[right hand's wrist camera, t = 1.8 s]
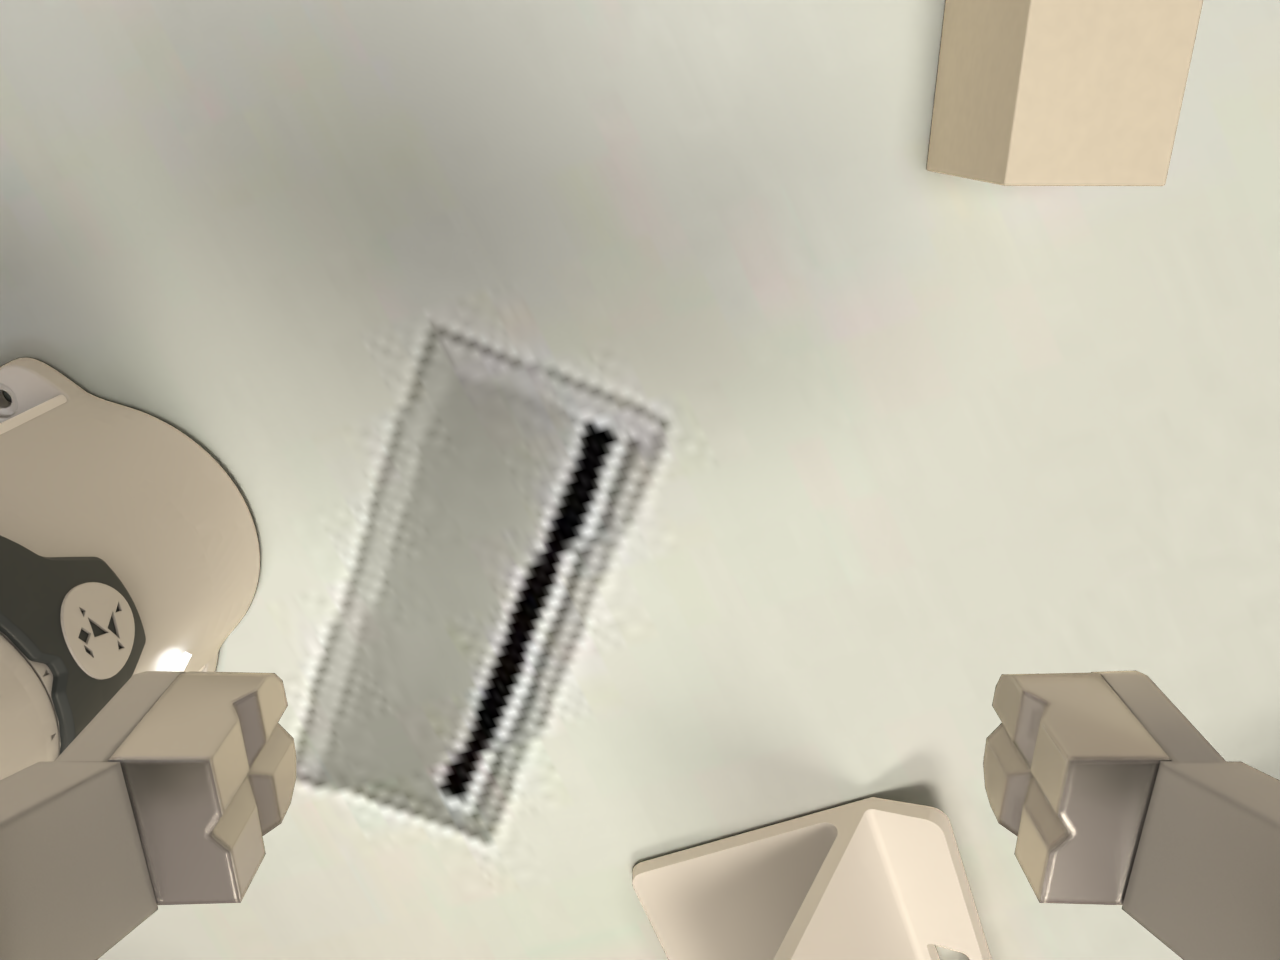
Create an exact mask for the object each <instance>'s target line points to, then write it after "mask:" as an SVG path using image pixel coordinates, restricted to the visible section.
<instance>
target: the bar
mask: <svg viewBox="0 0 1280 960" xmlns="http://www.w3.org/2000/svg"><path fill="white" fill-rule="evenodd" d="M1202 4H1203V0H946V2H945V11H944V19H943V28H942V37H941V46H940V55H939V64H938V73H937V81H936V90H935V99H934V108H933V117H932V126H931V135H930V143H929V152H928V161H927V170H928V171H932V172H937V173H943V174H948V175H953V176H958V177H963V178H968V179H973V180H979V181H984V182H989V183H994V184H999V185H1004V186H1164V185H1165V183H1166V178H1167V173H1168V168H1169V163H1170V158H1171V154H1172V149H1173V144H1174V139H1175V134H1176V129H1177V125H1178V120H1179V115H1180V110H1181V105H1182V100H1183V96H1184V91H1185V86H1186V81H1187V76H1188V71H1189V67H1190V62H1191V57H1192V52H1193V47H1194V42H1195V38H1196V33H1197V28H1198V23H1199V18H1200V13H1201V9H1202Z"/></svg>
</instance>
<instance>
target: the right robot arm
mask: <svg viewBox="0 0 1280 960" xmlns="http://www.w3.org/2000/svg"><path fill="white" fill-rule="evenodd" d="M3 390H4V391H6V392H7V393H8V394H9V395H10V397H11V399H12V403H11V402H9V401H7V400H6V399H5V398H4V396H3V393H2V391H3ZM259 572H260V550H259V542H258V537H257V533H256V529H255V525H254V522H253V519H252V516H251V514H250V511H249V509H248V507H247V505H246V503H245V501H244V499H243V497H242V495H241V493H240V492H239V490H238V488H237V487H236V485H235V484H234V482H233V481H232V480H231V478H230V477H229V476H228V474H227V473H226V472H225V471H224V469H223V468H222V467H221V466H220V465H219V464H218V462H217V461H216V460H215V459H214V458H213V457H212V456H211V455H210V454H209V453H208V452H207V451H205V450H204V449H203V448H202V447H201V446H200V445H198V444H197V443H196V442H195V441H193V440H192V439H191V438H189V437H188V436H187V435H185V434H184V433H182V432H181V431H179V430H178V429H176V428H174V427H173V426H171V425H169V424H168V423H166V422H164V421H162V420H160V419H158V418H156V417H154V416H151V415H149V414H147V413H144V412H142V411H139V410H136V409H133V408H130V407H127V406H123V405H120V404H117V403H114V402H110V401H107V400H104V399H101V398H99V397H96V396H94V395H92V394H90V393H87V392H86V391H85V390H83V389H82V388H81V387H79V386H78V385H77V384H75V383H74V382H73V381H71V380H70V379H68V378H67V377H66V376H64V375H63V374H61V373H60V372H58V371H57V370H55V369H54V368H52V367H51V366H49V365H47V364H45V363H43V362H41V361H39V360H36V359H33V358H18V359H15V360H13V361H11V362H9V363H7V364H5V365H3V366H1V367H0V960H97V959H98V958H100V957H101V956H102V955H103V954H104V953H106V952H107V951H108V950H109V949H111V948H112V947H113V946H114V945H115V944H117V943H118V942H119V941H120V940H121V939H123V938H124V937H125V936H126V935H128V934H129V933H130V932H131V931H132V930H134V929H135V928H136V927H137V926H138V925H140V924H141V923H142V922H143V921H144V920H146V919H147V918H148V917H149V916H151V915H152V914H153V913H154V912H155V911H157V910H158V906H157V905H175V904H210V903H241V901H242V899H243V897H244V895H245V893H246V891H247V889H248V887H249V885H250V883H251V881H252V879H253V877H254V876H255V874H256V872H257V870H258V868H259V866H260V864H261V862H262V860H263V858H264V856H265V854H266V853H265V848H264V843H263V837H262V836H264V835H265V834H266V833H268V832H269V831H271V830H272V829H274V828H275V827H276V826H278V825H279V824H281V823H282V821H283V818H284V816H285V814H286V812H287V810H288V808H289V806H290V804H291V800H292V795H293V790H294V786H295V781H296V751H295V744H294V738H293V737H292V736H291V735H290V734H289V733H288V732H287V731H286V730H285V729H284V728H283V727H282V726H281V725H280V724H279V723H278V722H279V720H280V718H281V716H282V715H283V713H284V711H285V710H286V708H287V706H288V704H287V699H286V694H285V689H284V685H283V681H282V680H281V679H280V678H279V677H278V676H277V675H276V674H275V673H245V672H215V670H216V665H217V660H218V653H219V649H220V647H221V646H222V644H223V642H224V641H225V639H226V638H227V637H228V636H229V634H230V633H231V632H232V631H233V630H234V629H235V627H236V626H237V625H238V624H239V623H240V621H241V620H242V618H243V617H244V616H245V614H246V612H247V610H248V609H249V607H250V605H251V602H252V600H253V597H254V595H255V592H256V588H257V584H258V579H259ZM992 706H993V708H994V710H995V711H996V713H997V715H998V716H999V718H1000V720H1001V722H1002V723H1001V724H1000V725H999V726H998V727H997V728H996V729H995V730H994V731H993V732H992V733H991V734H990V735H989V736H988V737H987V738H986V745H985V753H984V760H983V768H984V780H985V789H986V792H987V796H988V799H989V803H990V806H991V808H992V810H993V812H994V814H995V816H996V818H997V821H998V823H999V824H1001V825H1002V826H1004V827H1005V828H1006V829H1008V830H1009V831H1011V832H1012V833H1014V834H1015V835H1016V836H1018V837H1017V843H1016V848H1015V853H1014V854H1015V856H1016V858H1017V860H1018V862H1019V864H1020V866H1021V868H1022V870H1023V872H1024V874H1025V875H1026V877H1027V879H1028V881H1029V883H1030V885H1031V887H1032V889H1033V891H1034V893H1035V895H1036V897H1037V899H1038V901H1039V903H1069V904H1104V905H1123V906H1122V909H1123V910H1124V911H1125V912H1126V913H1127V914H1129V915H1130V916H1131V917H1132V918H1134V919H1135V920H1136V921H1137V922H1138V923H1140V924H1141V925H1142V926H1143V927H1144V928H1146V929H1147V930H1148V931H1149V932H1150V933H1152V934H1153V935H1154V936H1155V937H1157V938H1158V939H1159V940H1160V941H1161V942H1163V943H1164V944H1165V945H1166V946H1167V947H1169V948H1170V949H1171V950H1172V951H1173V952H1175V953H1176V954H1177V955H1178V956H1179V957H1181V958H1182V959H1183V960H1280V780H1278V779H1275V778H1273V777H1271V776H1269V775H1267V774H1265V773H1263V772H1261V771H1259V770H1257V769H1255V768H1253V767H1251V766H1249V765H1247V764H1245V763H1243V762H1226V761H1225V760H1224V759H1223V758H1222V757H1221V755H1220V754H1219V753H1218V752H1217V751H1216V750H1215V749H1214V748H1213V747H1212V746H1211V745H1210V743H1209V742H1208V741H1207V740H1206V739H1205V738H1204V737H1203V736H1202V735H1201V734H1200V733H1199V731H1198V730H1197V729H1196V728H1195V727H1194V726H1193V725H1192V724H1191V723H1190V722H1189V721H1188V719H1187V718H1186V717H1185V716H1184V715H1183V714H1182V713H1181V712H1180V711H1179V710H1178V709H1177V707H1176V706H1175V705H1174V704H1173V703H1172V702H1171V701H1170V700H1169V699H1168V698H1167V696H1166V695H1165V694H1164V693H1163V692H1162V691H1161V690H1160V689H1159V688H1158V687H1157V686H1156V684H1155V683H1154V682H1153V681H1152V680H1151V679H1150V678H1149V677H1148V676H1147V675H1145V674H1143V673H1140V672H1138V671H1107V672H1091V673H1051V674H1002V675H1001V677H1000V679H999V681H998V683H997V685H996V687H995V693H994V698H993V703H992Z"/></svg>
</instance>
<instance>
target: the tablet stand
mask: <svg viewBox="0 0 1280 960" xmlns="http://www.w3.org/2000/svg"><path fill="white" fill-rule="evenodd" d="M632 885H633V888H634V890H635V892H636V894H637V896H638V898H639V900H640V902H641V904H642V906H643V908H644V910H645V913H646V915H647V917H648V919H649V921H650V923H651V925H652V927H653V929H654V931H655V933H656V935H657V937H658V939H659V941H660V943H661V946H662V948H663V950H664V952H665V954H666V956H667V958H668V960H940V958H939V955H938V952H937V949H936V946H940V947H943V948H947V949H950V950H954V951H957V952H961V953H963V954H965V955H966V956H967V957H968V958H969V960H992V958H991V955H990V952H989V948H988V945H987V942H986V939H985V935H984V932H983V929H982V925H981V922H980V919H979V916H978V912H977V909H976V906H975V902H974V899H973V896H972V893H971V889H970V886H969V883H968V879H967V876H966V873H965V870H964V866H963V863H962V860H961V856H960V853H959V850H958V847H957V843H956V840H955V837H954V833H953V830H952V827H951V824H950V820H949V818H948V817H947V815H946V814H945V813H944V812H942V811H941V810H939V809H937V808H935V807H931V806H925V805H919V804H913V803H906V802H900V801H894V800H888V799H882V798H876V797H870V798H867V799H863V800H860V801H856V802H853V803H849V804H845V805H842V806H838V807H835V808H831V809H828V810H824V811H821V812H817V813H814V814H810V815H806V816H803V817H799V818H796V819H792V820H789V821H785V822H782V823H778V824H775V825H771V826H767V827H764V828H760V829H757V830H753V831H750V832H746V833H743V834H739V835H735V836H732V837H728V838H725V839H721V840H718V841H714V842H711V843H707V844H704V845H700V846H696V847H693V848H689V849H686V850H682V851H679V852H675V853H672V854H668V855H665V856H661V857H657V858H654V859H650V860H647V861H643V862H640V863H638V864H637V865H635V867H634V868H633V872H632ZM935 945H936V946H935Z"/></svg>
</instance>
